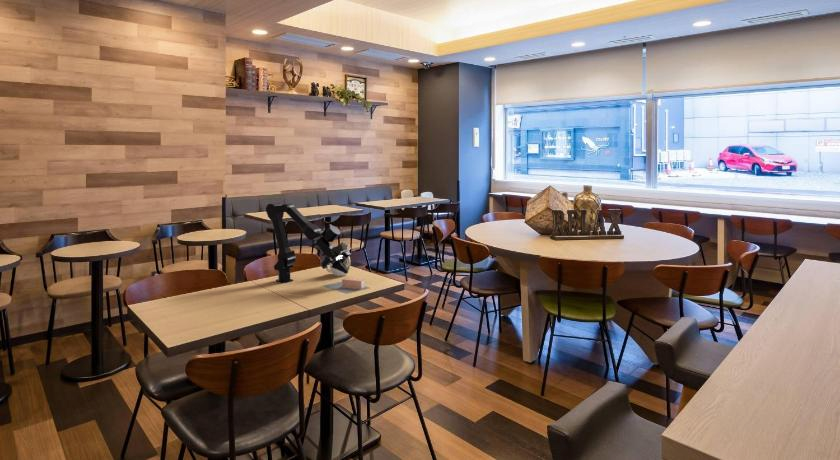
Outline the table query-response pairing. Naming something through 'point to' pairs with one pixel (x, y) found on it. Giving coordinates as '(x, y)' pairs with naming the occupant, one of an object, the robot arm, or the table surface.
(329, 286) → the mat
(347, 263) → the pitcher
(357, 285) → the block
